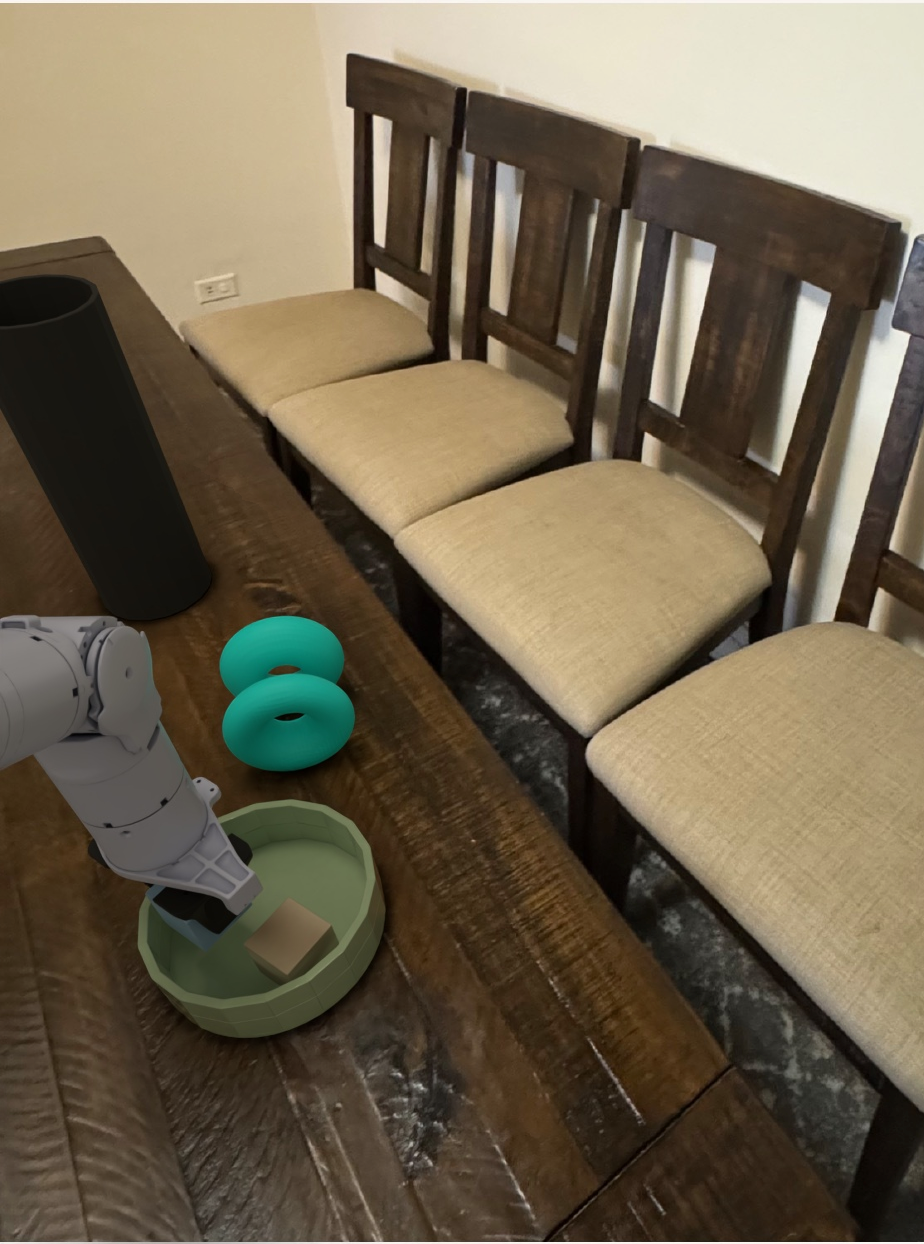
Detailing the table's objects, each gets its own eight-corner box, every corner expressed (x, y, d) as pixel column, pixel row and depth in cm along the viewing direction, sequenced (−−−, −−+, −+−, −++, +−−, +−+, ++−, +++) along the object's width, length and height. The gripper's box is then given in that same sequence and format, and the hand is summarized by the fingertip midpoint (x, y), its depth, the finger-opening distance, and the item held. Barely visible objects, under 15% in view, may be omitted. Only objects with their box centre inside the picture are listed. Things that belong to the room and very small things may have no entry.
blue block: (206, 952, 56) (186, 923, 54) (165, 922, 58) (144, 893, 55) (253, 904, 59) (237, 874, 56) (213, 877, 60) (195, 846, 58)
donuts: (351, 677, 79) (329, 598, 73) (366, 759, 73) (344, 680, 66) (237, 703, 77) (203, 623, 70) (242, 791, 70) (205, 712, 63)
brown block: (301, 1001, 58) (287, 975, 55) (258, 970, 59) (242, 944, 56) (343, 951, 60) (331, 924, 57) (301, 923, 61) (288, 896, 59)
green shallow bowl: (274, 1085, 54) (253, 1056, 51) (115, 962, 60) (86, 928, 56) (429, 896, 64) (420, 861, 60) (280, 805, 69) (264, 768, 66)
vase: (101, 631, 83) (-61, 336, 62) (105, 567, 89) (-40, 282, 69) (214, 607, 86) (96, 318, 65) (210, 547, 92) (101, 268, 72)
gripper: (276, 790, 48) (326, 908, 57) (108, 688, 53) (179, 812, 62) (171, 888, 44) (244, 999, 53) (-2, 767, 49) (93, 888, 58)
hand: (203, 904), depth 57 cm, fingers closed on blue block, 4 cm apart
